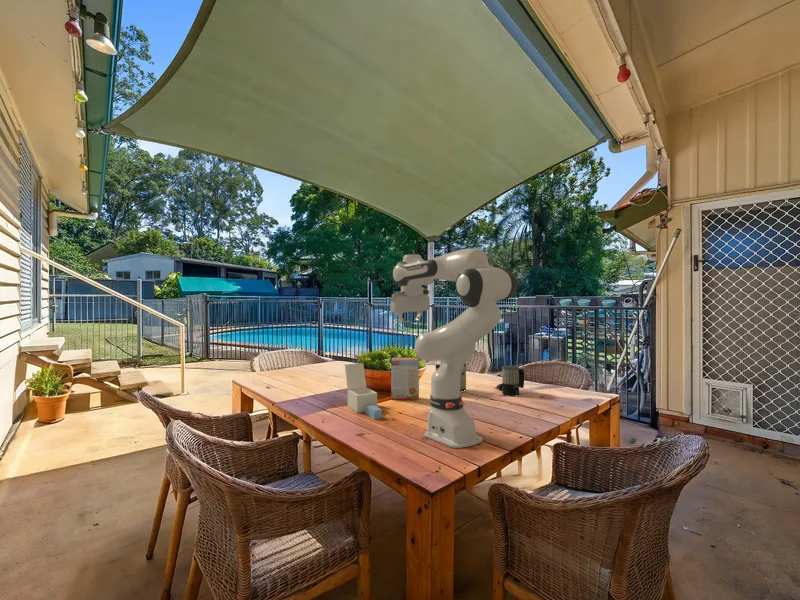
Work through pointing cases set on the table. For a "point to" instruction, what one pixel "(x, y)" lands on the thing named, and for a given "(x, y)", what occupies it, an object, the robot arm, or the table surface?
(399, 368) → the cracker box
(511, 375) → the milk frother
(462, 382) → the protein box
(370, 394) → the carton
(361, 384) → the lid flap
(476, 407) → the table surface
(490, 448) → the table surface
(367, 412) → the blue-gray rectangular block
